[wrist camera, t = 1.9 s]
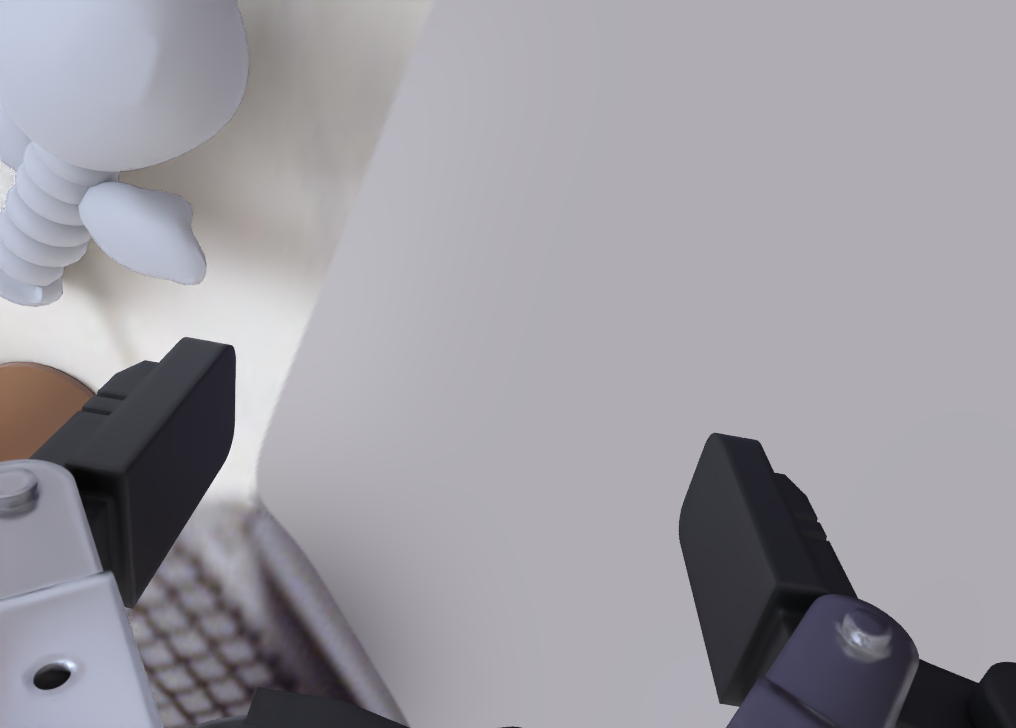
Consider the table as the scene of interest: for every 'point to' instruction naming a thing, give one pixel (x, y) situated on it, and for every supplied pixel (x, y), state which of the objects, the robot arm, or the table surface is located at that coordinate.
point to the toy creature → (107, 130)
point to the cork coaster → (34, 406)
